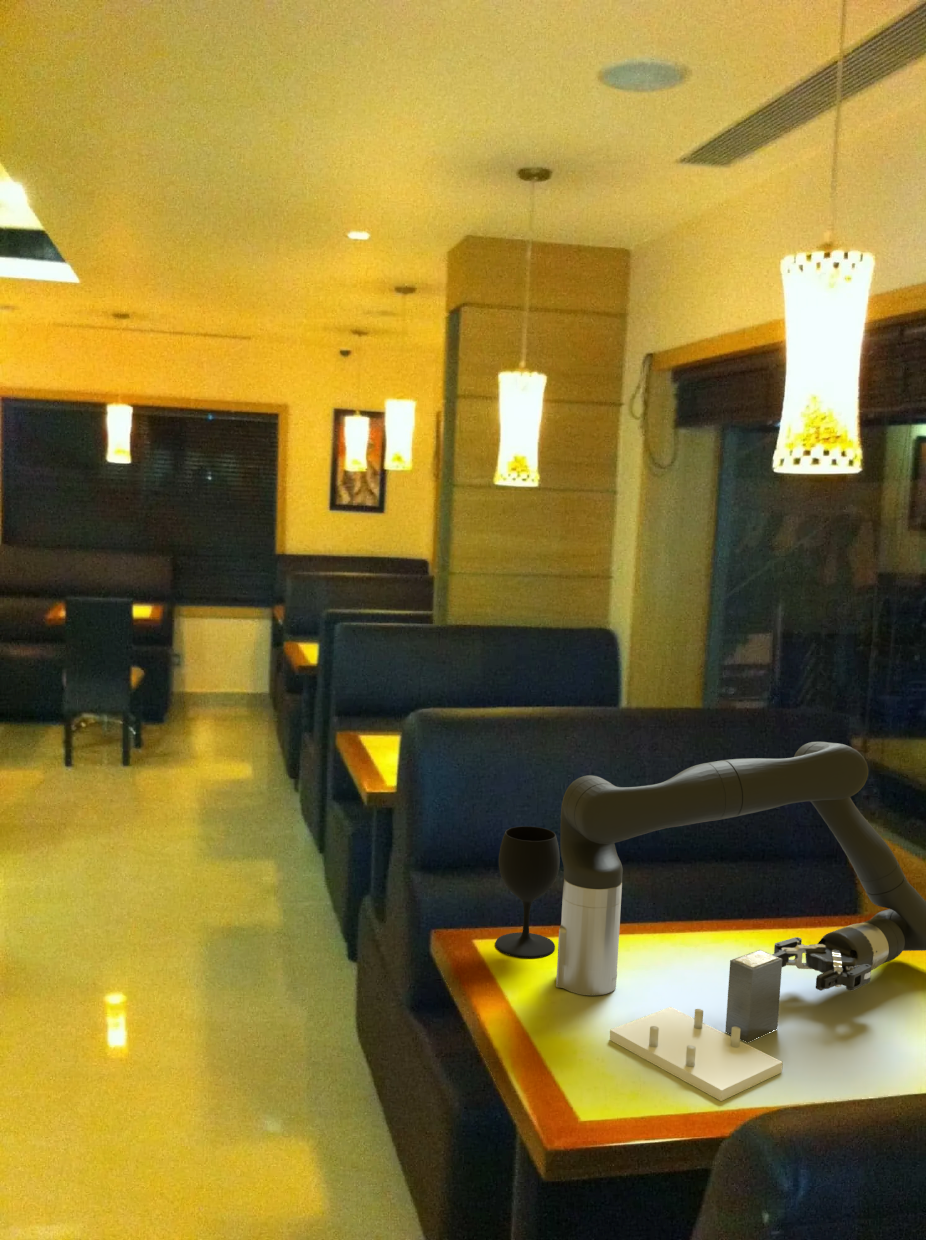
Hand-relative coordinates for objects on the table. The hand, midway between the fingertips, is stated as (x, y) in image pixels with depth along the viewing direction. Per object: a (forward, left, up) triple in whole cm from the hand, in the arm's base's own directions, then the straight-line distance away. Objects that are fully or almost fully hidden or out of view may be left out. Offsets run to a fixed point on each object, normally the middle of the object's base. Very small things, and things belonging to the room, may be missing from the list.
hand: (793, 973), depth 171 cm
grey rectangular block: (-6, -8, -7) cm, 12 cm away
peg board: (-14, -18, -6) cm, 24 cm away
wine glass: (-43, +13, -7) cm, 46 cm away
